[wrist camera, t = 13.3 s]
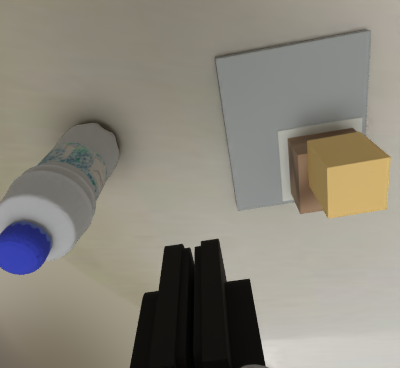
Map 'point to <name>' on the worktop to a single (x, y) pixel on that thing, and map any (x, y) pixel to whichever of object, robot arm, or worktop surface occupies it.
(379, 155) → the ochre block
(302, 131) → the plate
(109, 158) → the bottle
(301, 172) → the walnut block
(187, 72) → the worktop surface
